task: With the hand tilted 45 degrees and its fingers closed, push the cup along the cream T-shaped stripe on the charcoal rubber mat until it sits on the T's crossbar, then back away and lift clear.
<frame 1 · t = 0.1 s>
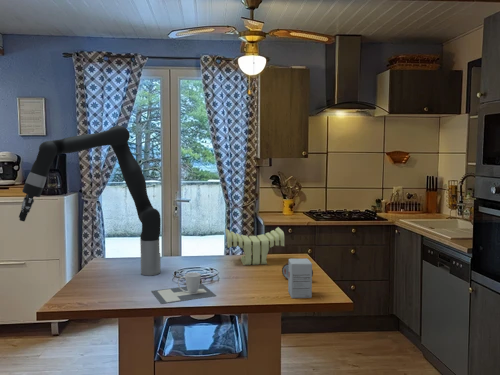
hand: (21, 219, 202), 31 cm above the kitchen island, tool tilted 20°, fingers open, 8 cm apart
t mat: (183, 293, 201), on the kitchen island
cup: (189, 292, 202), resting on t mat
slatted curved stool: (254, 262, 254), on the kitchen island
supplement box: (299, 295, 200), on the kitchen island
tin: (296, 280, 221), on the kitchen island
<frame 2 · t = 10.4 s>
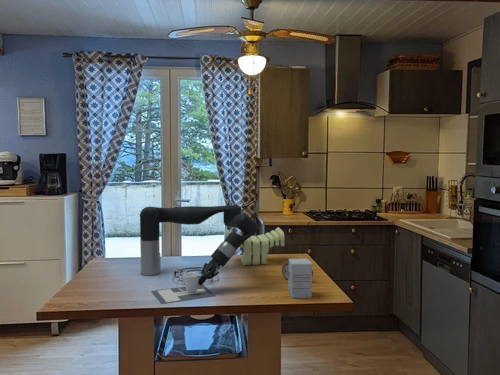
hand: (198, 284, 203), 4 cm above the kitchen island, tool tilted 45°, fingers closed
cup: (188, 293, 202), resting on t mat, touching gripper
everything else where it was.
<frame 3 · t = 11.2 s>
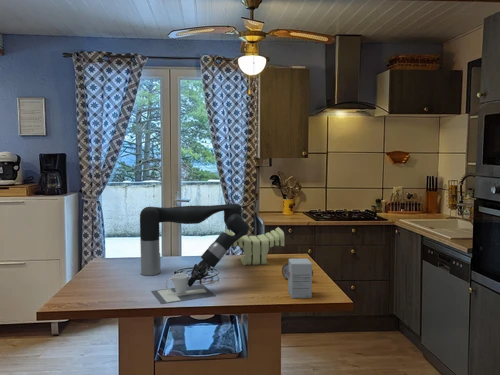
hand: (188, 285, 201), 4 cm above the kitchen island, tool tilted 45°, fingers closed
cup: (177, 294, 200), resting on t mat, touching gripper
everything else where it was.
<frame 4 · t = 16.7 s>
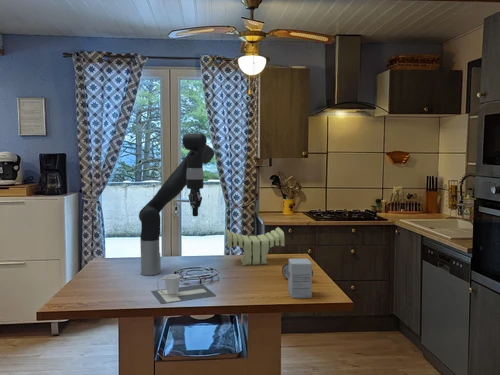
hand: (195, 216, 210), 32 cm above the kitchen island, tool pointing down, fingers closed
cup: (169, 295, 199), resting on t mat
everything else where it was.
at the end: cup inside the target area on the t mat (0.9 cm from its centre), point 0.0 cm above the t mat's base; cup tilted 0° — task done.
